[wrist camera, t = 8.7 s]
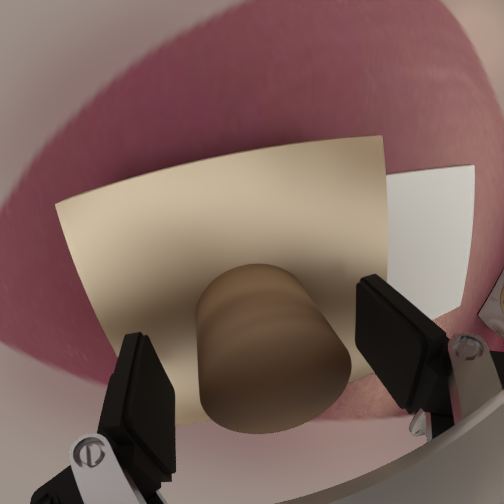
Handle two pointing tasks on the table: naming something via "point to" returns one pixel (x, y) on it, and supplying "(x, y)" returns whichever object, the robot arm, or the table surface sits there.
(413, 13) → the table surface
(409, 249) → the mat
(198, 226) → the lid
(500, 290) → the coffee box
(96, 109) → the table surface
